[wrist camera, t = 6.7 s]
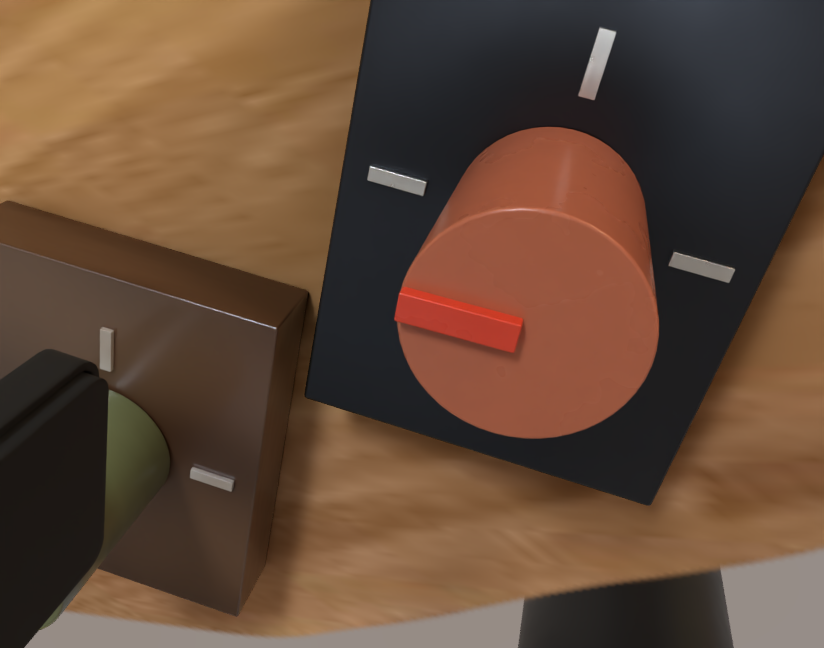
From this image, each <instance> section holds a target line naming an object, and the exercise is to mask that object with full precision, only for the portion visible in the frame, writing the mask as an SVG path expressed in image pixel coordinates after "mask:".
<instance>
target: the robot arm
mask: <svg viewBox="0 0 824 648" xmlns="http://www.w3.org/2000/svg"><path fill="white" fill-rule="evenodd" d="M108 397H109V388H108V383H107V381H106V380H105V379H103V378H100V377H99V370H98V368H97V366H96V364H94V363H92V362H90V361H87V360H84V359H81V358H78V357H75V356H72V355H69V354H66V353H63V352H60V351H57V350H54V349H45V350H43V351H41V352H39V353H37V354H36V355H34V356H33V357H31V358H30V359H29V360H27V361H26V362H24V363H23V364H22V365H20V366H19V367H17V368H16V369H15V370H13V371H12V372H10V373H9V374H8V375H6V376H5V377H3V378H2V379H0V648H24V647H25V646H26V645H27V644H28V642H29V641H30V640H31V639H32V637H33V636H34V635H35V634H36V633H37V632H38V630H39V629H40V628H41V627H42V626H43V625H44V623H45V622H46V621H47V620H48V619H49V617H50V616H51V615H52V614H53V613H54V611H55V610H56V609H57V608H58V607H59V605H60V604H61V603H62V602H63V601H64V599H65V598H66V597H67V596H68V595H69V593H70V592H71V591H72V590H73V589H74V587H75V586H76V585H77V584H78V583H79V582H80V580H81V579H82V578H83V577H84V576H85V574H86V573H87V572H88V571H89V570H90V568H91V567H92V566H93V564H94V563H95V561H96V559H97V557H98V555H99V553H100V551H101V548H102V545H103V540H104V522H105V491H106V460H107V429H108Z"/></svg>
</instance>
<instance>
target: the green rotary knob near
mask: <svg viewBox="0 0 824 648" xmlns="http://www.w3.org/2000/svg"><path fill="white" fill-rule="evenodd" d="M169 468H170V456H169V450H168V447H167V444H166V441H165V439H164V437H163V435H162V433H161V431H160V430H159V428H158V427H157V425H156V424H155V423H154V421H153V420H152V419H151V418H150V417H149V416H148V414H147V413H146V412H145V411H143V410H142V409H141V408H140V407H139V406H138V405H136V404H135V403H134V402H132V401H131V400H129V399H128V398H126V397H124V396H123V395H121V394H119V393H117V392H114V391H112V390H109V397H108V429H107V460H106V491H105V522H104V540H103V545H102V548H101V551H100V553H99V555H98V557H97V559H96V561H95V563H94V564H93V566H92V567H91V568H90V570H89V571H88V572H87V573H86V574H85V576H84V577H83V578H82V579H81V580H80V582H79V583H78V584H77V585H76V586H75V587H74V589H73V590H72V591H71V592H70V593H69V595H68V596H67V597H66V598H65V599H64V601H63V602H62V603H61V604H60V605H59V607H58V608H57V609H56V610H55V611H54V613H53V614H52V615H51V616H50V617H49V619H48V620H47V621H46V622H45V623H44V625H43V626H42V627H41V628H40V629H39V630H41V629H43V628H46V627H48V626H49V625H51V624H52V623H53V622H55V621H56V619H57V618H58V617H59V616H60V614H62V612H63V611H64V610H65V608H66V607H67V606H68V605H69V603H70V602H71V601H72V600H73V598H74V597H75V596H76V595H77V593H78V592H79V591H80V590H81V588H82V587H83V586H84V585H85V583H86V582H87V581H88V579H89V578H90V577H91V576H92V574H93V573H94V572H95V571H96V569H97V568H98V567H99V566H100V564H101V563H102V562H103V561H104V559H105V558H106V557H107V556H108V554H109V553H110V552H111V550H112V549H113V548H114V547H115V545H116V544H117V543H118V542H119V540H120V539H121V538H122V537H123V535H124V534H125V533H126V532H127V530H128V529H129V528H130V526H131V525H132V524H133V523H134V521H135V520H136V519H137V518H138V516H139V515H140V514H141V513H142V511H143V510H144V509H145V508H146V506H147V505H148V504H149V503H150V501H151V500H152V499H153V497H154V496H155V495H156V494H157V492H158V491H159V490H160V489H161V487H162V486H163V485H164V483H165V481H166V480H167V477H168V474H169Z"/></svg>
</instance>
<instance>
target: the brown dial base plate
mask: <svg viewBox="0 0 824 648" xmlns="http://www.w3.org/2000/svg"><path fill="white" fill-rule="evenodd" d="M307 297H308V291H307V290H304V289H300V288H297V287H294V286H290V285H287V284H284V283H280V282H277V281H274V280H270V279H267V278H264V277H260V276H257V275H254V274H250V273H247V272H244V271H240V270H237V269H234V268H230V267H227V266H224V265H220V264H217V263H214V262H210V261H207V260H204V259H201V258H197V257H194V256H191V255H187V254H184V253H181V252H177V251H174V250H171V249H167V248H164V247H161V246H157V245H154V244H151V243H147V242H144V241H141V240H137V239H134V238H131V237H127V236H124V235H121V234H117V233H114V232H111V231H108V230H104V229H101V228H98V227H94V226H91V225H88V224H84V223H81V222H78V221H74V220H71V219H68V218H64V217H61V216H58V215H54V214H51V213H48V212H44V211H41V210H38V209H34V208H31V207H28V206H24V205H21V204H18V203H15V202H11V201H5V202H3V203H1V204H0V379H2V378H3V377H5V376H6V375H8V374H9V373H10V372H12V371H13V370H15V369H16V368H17V367H19V366H20V365H22V364H23V363H24V362H26V361H27V360H29V359H30V358H31V357H33V356H34V355H36V354H37V353H39V352H41V351H43V350H45V349H54V350H57V351H60V352H63V353H66V354H69V355H72V356H75V357H78V358H81V359H84V360H87V361H90V362H92V363H94V364H96V366H97V368H98V370H99V377H100V378H103V379H105V380H106V381H107V383H108V388H109V390H112V391H114V392H117V393H119V394H121V395H123V396H124V397H126V398H128V399H129V400H131V401H132V402H134V403H135V404H136V405H138V406H139V407H140V408H141V409H142V410H143V411H145V412H146V413H147V414H148V416H149V417H150V418H151V419H152V420H153V421H154V423H155V424H156V425H157V427H158V428H159V430H160V431H161V433H162V435H163V437H164V439H165V441H166V444H167V447H168V450H169V456H170V468H169V474H168V477H167V480H166V481H165V483H164V485H163V486H162V487H161V489H160V490H159V491H158V492H157V494H156V495H155V496H154V497H153V499H152V500H151V501H150V503H149V504H148V505H147V506H146V508H145V509H144V510H143V511H142V513H141V514H140V515H139V516H138V518H137V519H136V520H135V521H134V523H133V524H132V525H131V526H130V528H129V529H128V530H127V532H126V533H125V534H124V535H123V537H122V538H121V539H120V540H119V542H118V543H117V544H116V545H115V547H114V548H113V549H112V550H111V552H110V553H109V554H108V556H107V557H106V558H105V559H104V561H103V562H102V563H101V564H100V566H99V567H98V569H101V570H104V571H107V572H109V573H112V574H115V575H118V576H121V577H124V578H127V579H130V580H132V581H135V582H138V583H141V584H144V585H147V586H150V587H153V588H155V589H158V590H161V591H164V592H167V593H170V594H173V595H176V596H178V597H181V598H184V599H187V600H190V601H193V602H196V603H199V604H201V605H204V606H207V607H210V608H213V609H216V610H219V611H222V612H224V613H227V614H230V615H233V616H236V617H237V616H238V615H239V613H240V612H241V610H242V608H243V606H244V604H245V602H246V600H247V599H248V597H249V595H250V593H251V591H252V589H253V587H254V585H255V584H256V582H257V580H258V578H259V576H260V574H261V572H262V571H263V569H264V567H265V562H266V556H267V550H268V543H269V537H270V531H271V524H272V518H273V512H274V505H275V499H276V493H277V486H278V480H279V474H280V467H281V461H282V455H283V448H284V442H285V436H286V430H287V423H288V417H289V411H290V404H291V398H292V392H293V385H294V379H295V373H296V366H297V360H298V354H299V347H300V341H301V335H302V329H303V322H304V316H305V310H306V303H307Z"/></svg>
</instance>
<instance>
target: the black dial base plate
mask: <svg viewBox="0 0 824 648" xmlns="http://www.w3.org/2000/svg"><path fill="white" fill-rule="evenodd" d="M538 127H561V128H567V129H573V130H576V131H579V132H583V133H586V134H588V135H590V136H592V137H594V138H597V139H599V140H600V141H602V142H603V143H605V144H606V145H608V146H609V147H611V148H612V149H613V150H614V151H615V152H616V153H618V154H619V155H620V156H621V157H622V159H623V160H624V161H625V162H626V163H627V164H628V166H629V167H630V169H631V170H632V172H633V173H634V175H635V176H636V179H637V181H638V183H639V185H640V187H641V190H642V194H643V197H644V201H645V208H646V215H647V224H648V232H649V240H650V249H651V257H652V266H653V274H654V282H655V291H656V299H657V308H658V316H659V339H658V345H657V351H656V355H655V358H654V361H653V364H652V367H651V369H650V371H649V373H648V375H647V377H646V379H645V381H644V382H643V383H642V385H641V386H640V388H639V389H638V391H637V392H636V393H635V394H634V395H633V397H632V398H631V399H630V400H629V401H628V402H627V403H626V404H625V405H624V406H623V407H621V408H620V409H619V410H618V411H617V412H615V413H614V414H613V415H611V416H610V417H608V418H607V419H605V420H603V421H602V422H600V423H598V424H596V425H594V426H592V427H590V428H587V429H585V430H582V431H579V432H576V433H573V434H569V435H564V436H559V437H553V438H542V439H526V438H516V437H508V436H504V435H500V434H495V433H492V432H489V431H486V430H483V429H480V428H478V427H475V426H473V425H471V424H469V423H467V422H465V421H463V420H461V419H460V418H458V417H456V416H455V415H453V414H451V413H450V412H449V411H447V410H446V409H445V408H444V407H442V406H441V405H440V404H439V403H437V402H436V401H435V400H434V399H433V398H432V397H431V396H430V395H429V394H428V393H427V391H426V390H425V389H424V388H423V386H422V385H421V384H420V383H419V382H418V380H417V378H416V377H415V375H414V374H413V372H412V370H411V369H410V366H409V364H408V362H407V360H406V358H405V356H404V353H403V349H402V346H401V343H400V339H399V333H398V327H397V321H395V320H394V317H395V312H396V306H397V301H398V296H399V293H400V291H401V287H402V283H403V281H404V279H405V276H406V274H407V272H408V269H409V268H410V266H411V264H412V262H413V261H414V259H415V257H416V256H417V254H418V252H419V250H420V249H421V247H422V245H423V243H424V242H425V240H426V238H427V237H428V235H429V233H430V231H431V230H432V228H433V226H434V225H435V223H436V221H437V219H438V218H439V216H440V214H441V212H442V211H443V209H444V207H445V206H446V204H447V202H448V200H449V199H450V197H451V195H452V194H453V192H454V190H455V188H456V187H457V185H458V183H459V181H460V180H461V178H462V176H463V175H464V173H465V172H466V170H467V168H468V167H469V166H470V164H471V163H472V162H473V161H474V160H475V158H476V157H477V156H478V155H479V154H480V153H482V152H483V151H484V150H485V149H486V148H487V147H489V146H490V145H492V144H493V143H494V142H496V141H498V140H500V139H502V138H504V137H505V136H507V135H510V134H513V133H515V132H518V131H522V130H526V129H530V128H538ZM823 155H824V0H371V1H370V7H369V13H368V19H367V25H366V31H365V37H364V43H363V49H362V54H361V60H360V66H359V72H358V78H357V84H356V90H355V96H354V102H353V108H352V114H351V120H350V126H349V132H348V138H347V144H346V150H345V155H344V161H343V167H342V173H341V179H340V185H339V191H338V197H337V203H336V209H335V215H334V221H333V227H332V233H331V239H330V245H329V251H328V257H327V262H326V268H325V274H324V280H323V286H322V292H321V298H320V304H319V310H318V316H317V322H316V328H315V334H314V340H313V346H312V352H311V358H310V363H309V369H308V375H307V381H306V387H305V393H304V395H305V397H306V398H308V399H311V400H315V401H318V402H321V403H324V404H327V405H330V406H334V407H337V408H340V409H343V410H346V411H349V412H353V413H356V414H359V415H362V416H365V417H368V418H372V419H375V420H378V421H381V422H384V423H388V424H391V425H394V426H397V427H400V428H403V429H407V430H410V431H413V432H416V433H419V434H422V435H426V436H429V437H432V438H435V439H438V440H441V441H445V442H448V443H451V444H454V445H457V446H460V447H464V448H467V449H470V450H473V451H476V452H479V453H483V454H486V455H489V456H492V457H495V458H498V459H502V460H505V461H508V462H511V463H514V464H518V465H521V466H524V467H527V468H530V469H533V470H537V471H540V472H543V473H546V474H549V475H552V476H556V477H559V478H562V479H565V480H568V481H571V482H575V483H578V484H581V485H584V486H587V487H590V488H594V489H597V490H600V491H603V492H606V493H609V494H613V495H616V496H619V497H622V498H625V499H628V500H632V501H635V502H638V503H641V504H644V505H647V506H648V505H651V504H652V502H653V500H654V498H655V496H656V494H657V492H658V490H659V488H660V486H661V484H662V482H663V479H664V477H665V475H666V473H667V471H668V469H669V467H670V465H671V463H672V461H673V459H674V457H675V455H676V453H677V451H678V449H679V447H680V445H681V443H682V441H683V439H684V437H685V435H686V433H687V431H688V429H689V427H690V425H691V423H692V421H693V419H694V417H695V415H696V413H697V411H698V409H699V407H700V405H701V402H702V400H703V398H704V396H705V394H706V392H707V390H708V388H709V386H710V384H711V382H712V380H713V378H714V376H715V374H716V372H717V370H718V368H719V366H720V364H721V362H722V360H723V358H724V356H725V354H726V352H727V350H728V348H729V346H730V344H731V342H732V340H733V338H734V336H735V334H736V332H737V330H738V328H739V325H740V323H741V321H742V319H743V317H744V315H745V313H746V311H747V309H748V307H749V305H750V303H751V301H752V299H753V297H754V295H755V293H756V291H757V289H758V287H759V285H760V283H761V281H762V279H763V277H764V275H765V273H766V271H767V269H768V267H769V265H770V263H771V261H772V259H773V257H774V255H775V253H776V251H777V249H778V246H779V244H780V242H781V240H782V238H783V236H784V234H785V232H786V230H787V228H788V226H789V224H790V222H791V220H792V218H793V216H794V214H795V212H796V210H797V208H798V206H799V204H800V202H801V200H802V198H803V196H804V194H805V192H806V190H807V188H808V186H809V184H810V182H811V180H812V178H813V176H814V174H815V172H816V169H817V167H818V165H819V163H820V161H821V159H822V157H823Z"/></svg>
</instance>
